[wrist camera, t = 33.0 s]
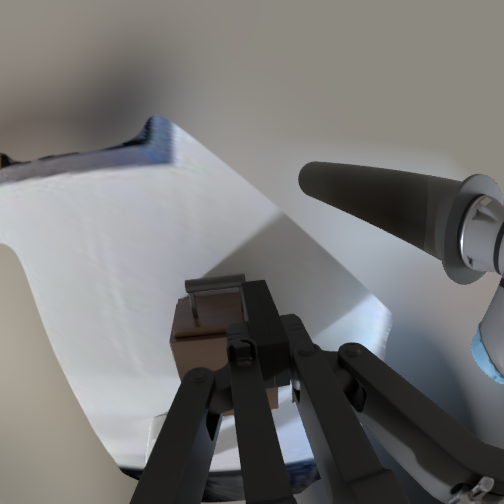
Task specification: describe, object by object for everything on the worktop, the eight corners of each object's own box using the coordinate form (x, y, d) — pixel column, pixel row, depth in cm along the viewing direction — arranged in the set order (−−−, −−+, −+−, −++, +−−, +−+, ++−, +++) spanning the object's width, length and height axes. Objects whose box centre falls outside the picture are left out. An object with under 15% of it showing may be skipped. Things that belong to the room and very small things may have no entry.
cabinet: (176, 303, 41) (169, 342, 32) (262, 293, 42) (276, 330, 33) (193, 376, 46) (193, 418, 36) (266, 368, 47) (278, 408, 38)
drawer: (172, 266, 38) (163, 292, 31) (256, 256, 39) (267, 280, 32) (194, 370, 44) (193, 404, 37) (263, 362, 45) (272, 395, 38)
